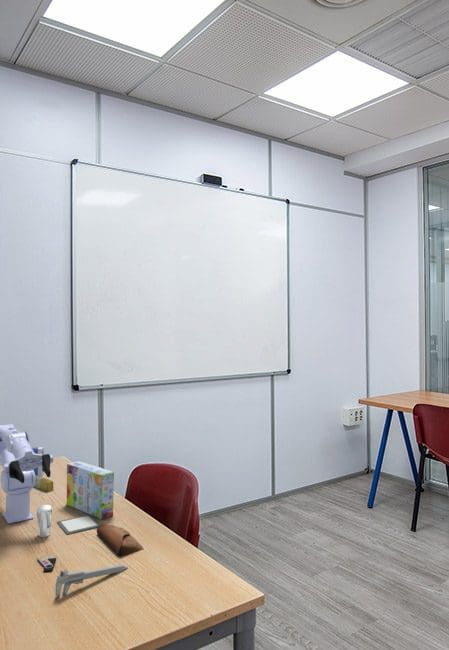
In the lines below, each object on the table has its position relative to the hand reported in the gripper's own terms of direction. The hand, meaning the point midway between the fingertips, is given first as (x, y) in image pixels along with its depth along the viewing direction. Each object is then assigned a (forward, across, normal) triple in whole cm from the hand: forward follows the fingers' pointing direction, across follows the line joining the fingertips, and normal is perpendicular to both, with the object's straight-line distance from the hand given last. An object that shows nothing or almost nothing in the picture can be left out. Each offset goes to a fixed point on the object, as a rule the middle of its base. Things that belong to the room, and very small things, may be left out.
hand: (36, 477), depth 152 cm
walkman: (-56, +15, +37) cm, 69 cm away
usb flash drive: (+22, -3, +14) cm, 26 cm away
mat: (+3, +13, +20) cm, 24 cm away
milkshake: (+4, +2, +19) cm, 19 cm away
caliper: (+38, +4, +9) cm, 39 cm away
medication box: (-39, +14, +32) cm, 52 cm away
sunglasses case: (+21, +19, +15) cm, 32 cm away
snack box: (-7, +21, +23) cm, 32 cm away
